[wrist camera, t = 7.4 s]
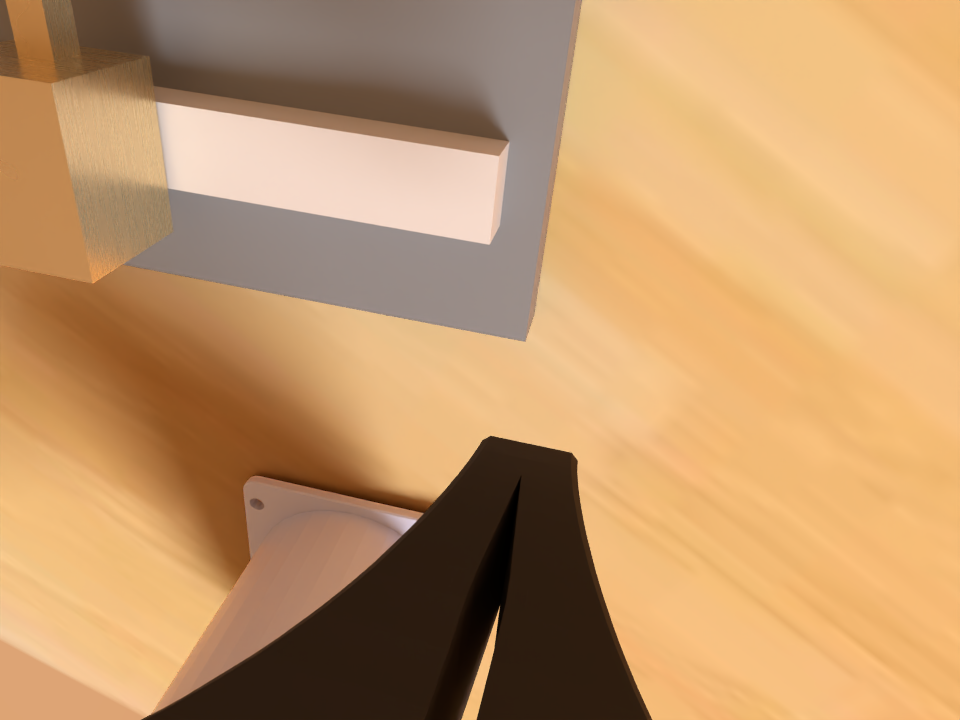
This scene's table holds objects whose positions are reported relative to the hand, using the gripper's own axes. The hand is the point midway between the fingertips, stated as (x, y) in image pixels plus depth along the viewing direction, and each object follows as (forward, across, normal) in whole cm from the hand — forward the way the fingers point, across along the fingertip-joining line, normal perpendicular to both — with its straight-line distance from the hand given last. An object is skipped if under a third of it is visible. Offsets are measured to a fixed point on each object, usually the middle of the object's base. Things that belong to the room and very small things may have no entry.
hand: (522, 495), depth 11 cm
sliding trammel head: (+8, +11, -4) cm, 14 cm away
